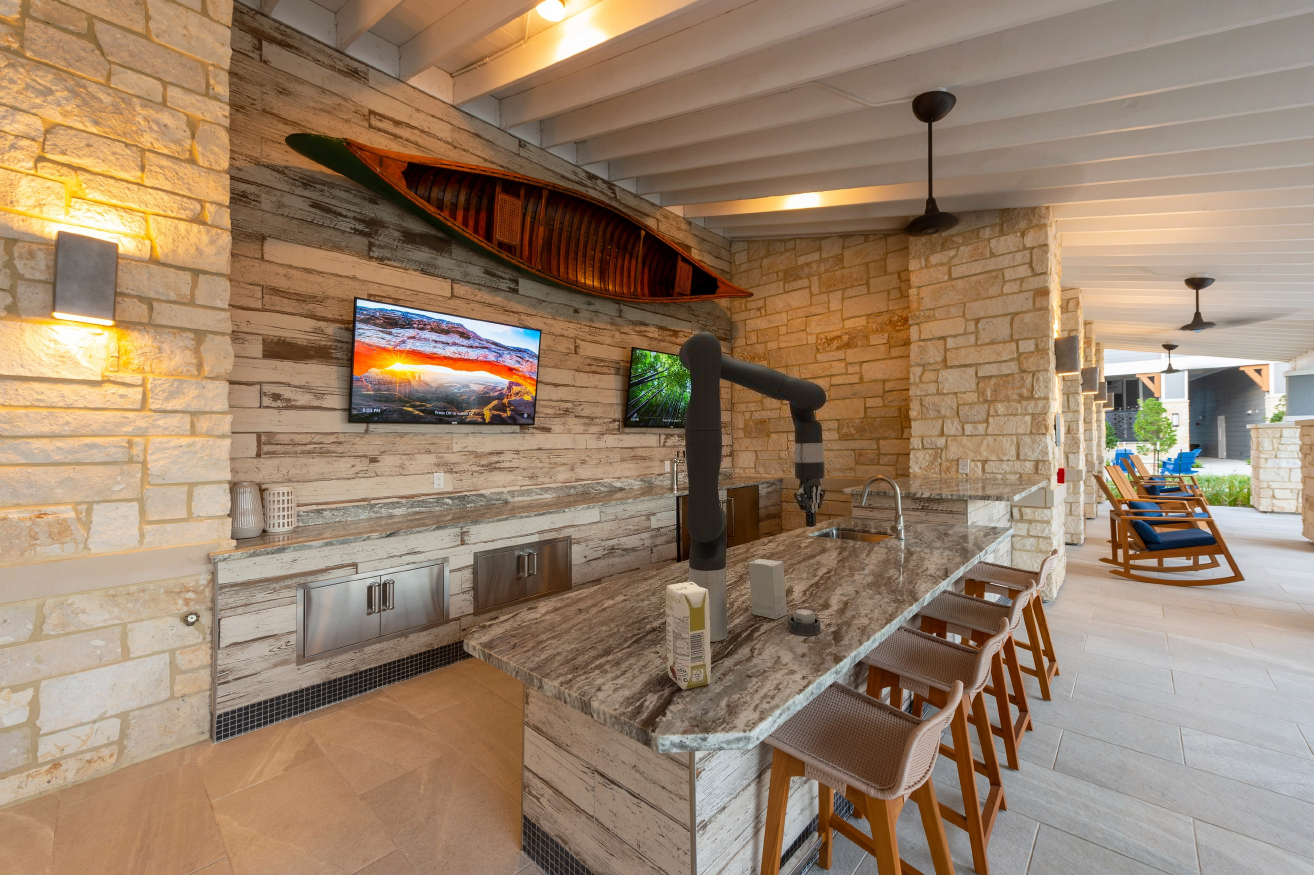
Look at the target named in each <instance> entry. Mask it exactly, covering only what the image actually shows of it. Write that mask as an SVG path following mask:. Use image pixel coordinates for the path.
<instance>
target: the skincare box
mask: <svg viewBox="0 0 1314 875" xmlns="http://www.w3.org/2000/svg"><path fill="white" fill-rule="evenodd" d="M748 570H749V574H748V575H749V585H750V586H749V587H750V598H751V600H750V601H751V614H752V615H756V616H760V617H765V618H769V619H773V620H778V619H780V618H783V617H786V616H787V615H788V609H787V596H786V594H787V593H786V581H785V567H784V561H782V560H772V559H771V560H770V559H764V558H758V559H755V560H752V561H749V562H748Z"/></svg>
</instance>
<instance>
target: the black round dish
mask: <svg viewBox="0 0 1314 875" xmlns="http://www.w3.org/2000/svg"><path fill="white" fill-rule="evenodd" d="M787 629H788V632H790V633H791V634H793V635H797V636H801V637H802V636H803V637H814V636H818V635H820V633H821V620H820V619H819V617H818V618H817V617H816V616H815V624H811V625H803V624H797V623H794V615H791V616H789V617H788V619H787Z"/></svg>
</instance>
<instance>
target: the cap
mask: <svg viewBox="0 0 1314 875" xmlns="http://www.w3.org/2000/svg"><path fill="white" fill-rule="evenodd" d="M815 614H816V612H815V611H814V610H811V609H808V608H799V609H798V608H796V609H795V610H793V616H794V623H797V624H803V625H811V624H815V617H816V615H815Z"/></svg>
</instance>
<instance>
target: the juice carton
mask: <svg viewBox="0 0 1314 875" xmlns="http://www.w3.org/2000/svg"><path fill="white" fill-rule="evenodd" d="M665 591H666V592H665V630H666V631H665V633H666V635H665V637H666V638H665V639H666V643H665V644H666V667H667V674H668V676H669V678H670V679H671V680H672V681H673V682H675V683H676V684H677V685H678V686H679V688H681V689H682V690H689V689H693V688H698V687H702V686H705V685H709V684H711V674H712V673H711V672H712V659H711V658H712V657H711V656H712V654H711V651H712V650H711V642H710V604H709V594H708V589H705V588H702V587H699V586H698V585H697V584H695V583H694V582H690V581H688V582H687V581H686V582H679V583H678V582H677V583H673V584H666V590H665Z"/></svg>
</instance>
